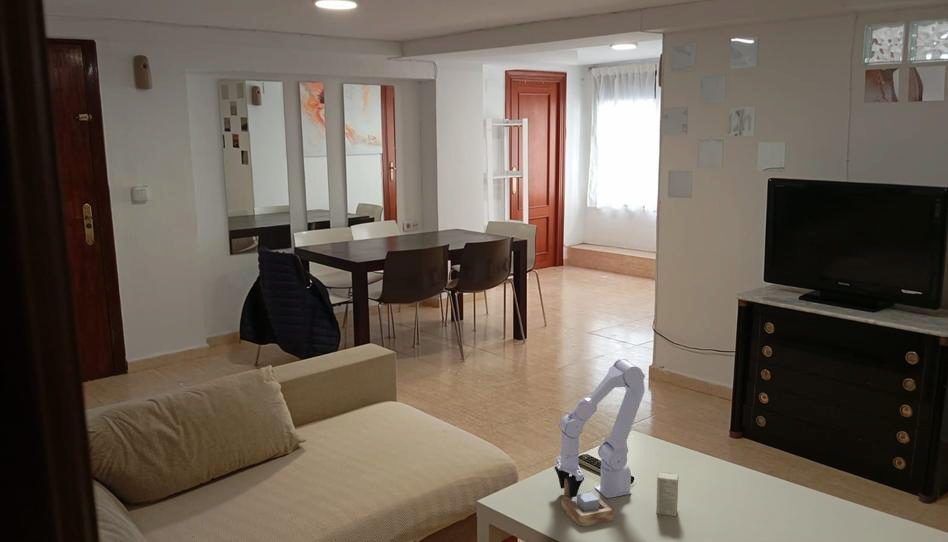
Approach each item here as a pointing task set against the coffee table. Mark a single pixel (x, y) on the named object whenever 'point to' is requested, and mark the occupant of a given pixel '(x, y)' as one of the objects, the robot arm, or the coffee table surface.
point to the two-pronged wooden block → (587, 517)
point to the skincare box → (667, 493)
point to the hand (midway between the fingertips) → (568, 492)
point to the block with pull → (583, 499)
